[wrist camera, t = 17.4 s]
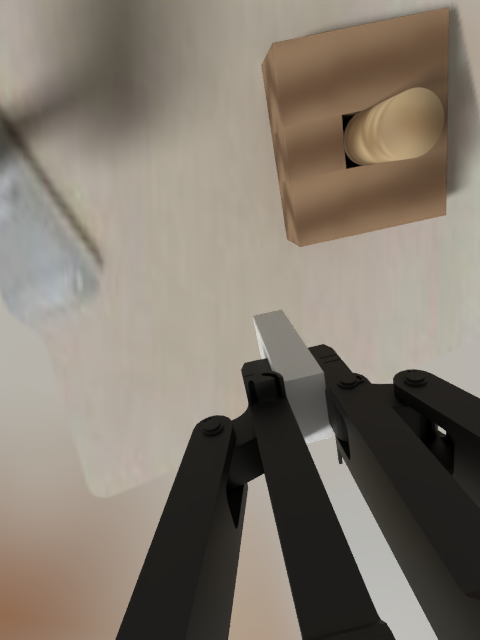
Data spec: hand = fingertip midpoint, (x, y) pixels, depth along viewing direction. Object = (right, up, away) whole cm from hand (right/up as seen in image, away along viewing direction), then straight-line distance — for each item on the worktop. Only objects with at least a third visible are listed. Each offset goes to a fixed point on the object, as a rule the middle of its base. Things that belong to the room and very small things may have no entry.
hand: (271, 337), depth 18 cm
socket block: (+10, +21, +22) cm, 32 cm away
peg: (+10, +21, +22) cm, 32 cm away
